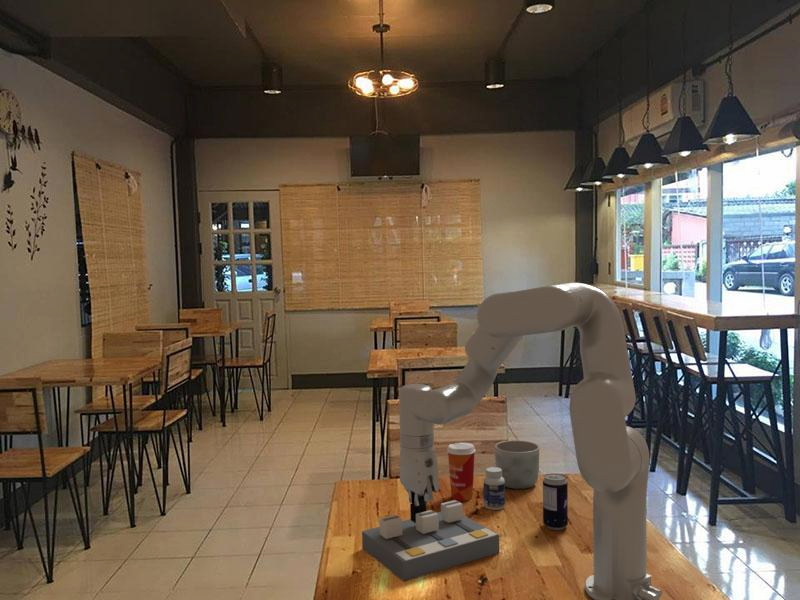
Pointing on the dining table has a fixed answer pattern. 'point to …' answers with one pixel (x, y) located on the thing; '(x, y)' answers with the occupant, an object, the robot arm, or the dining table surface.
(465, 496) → the paper cup
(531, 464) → the planter
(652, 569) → the dining table surface
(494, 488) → the pill bottle
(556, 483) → the beverage can
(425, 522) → the slider
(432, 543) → the console
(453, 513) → the slider
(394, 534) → the slider
